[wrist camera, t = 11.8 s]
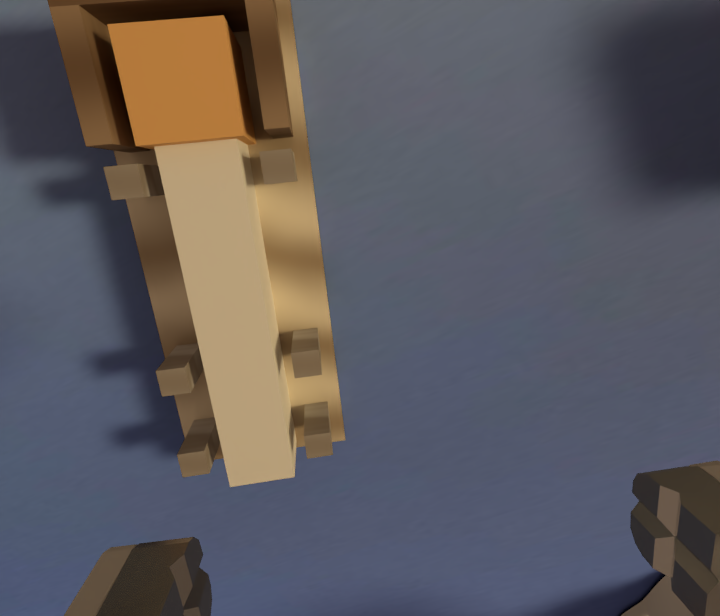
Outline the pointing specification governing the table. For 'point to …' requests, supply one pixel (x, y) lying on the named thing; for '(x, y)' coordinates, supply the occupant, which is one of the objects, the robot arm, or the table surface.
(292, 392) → the rail
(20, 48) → the table surface
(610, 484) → the table surface
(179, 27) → the orange tipped beige bar
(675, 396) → the table surface
